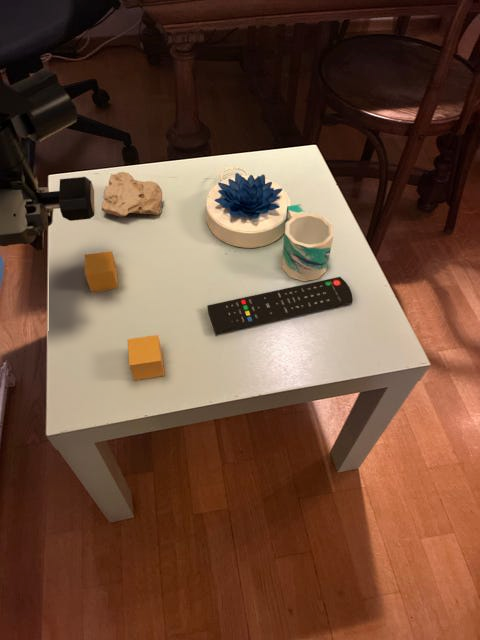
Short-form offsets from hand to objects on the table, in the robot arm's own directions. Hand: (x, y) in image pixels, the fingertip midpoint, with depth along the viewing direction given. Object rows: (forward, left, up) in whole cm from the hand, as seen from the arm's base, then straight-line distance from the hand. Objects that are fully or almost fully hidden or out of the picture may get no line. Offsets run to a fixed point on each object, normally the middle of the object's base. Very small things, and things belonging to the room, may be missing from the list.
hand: (40, 248), depth 71 cm
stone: (+19, +15, -12) cm, 27 cm away
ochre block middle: (+7, 0, -12) cm, 14 cm away
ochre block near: (+7, -19, -12) cm, 23 cm away
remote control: (+30, -20, -12) cm, 38 cm away
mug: (+40, -12, -12) cm, 43 cm away
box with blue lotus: (+37, +3, -12) cm, 39 cm away
